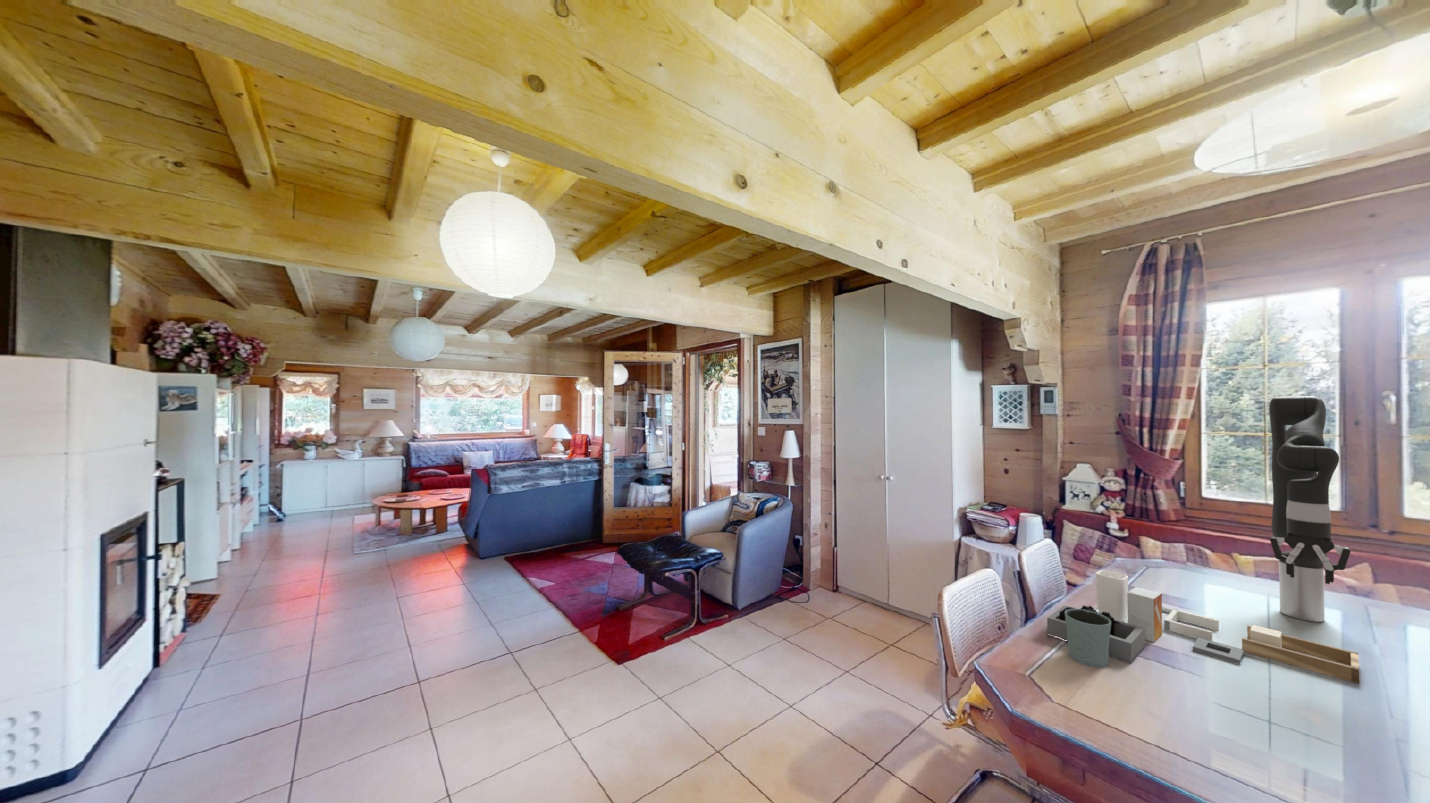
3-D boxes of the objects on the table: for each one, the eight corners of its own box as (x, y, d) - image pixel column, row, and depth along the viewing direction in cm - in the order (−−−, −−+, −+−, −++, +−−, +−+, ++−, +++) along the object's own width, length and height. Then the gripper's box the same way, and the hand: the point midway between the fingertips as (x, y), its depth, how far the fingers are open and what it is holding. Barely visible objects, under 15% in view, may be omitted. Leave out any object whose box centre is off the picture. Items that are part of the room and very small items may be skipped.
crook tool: (1156, 609, 160) (1156, 605, 160) (1212, 621, 150) (1212, 618, 150) (1156, 613, 157) (1156, 609, 157) (1213, 625, 148) (1213, 622, 148)
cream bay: (1173, 617, 153) (1173, 608, 154) (1218, 629, 145) (1218, 619, 145) (1164, 629, 146) (1164, 619, 146) (1211, 642, 137) (1211, 632, 137)
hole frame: (1198, 640, 138) (1198, 636, 138) (1244, 653, 131) (1244, 649, 131) (1192, 650, 133) (1192, 646, 133) (1239, 664, 126) (1239, 660, 126)
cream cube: (1252, 643, 137) (1252, 624, 137) (1282, 650, 133) (1281, 631, 133) (1250, 648, 134) (1250, 629, 134) (1280, 657, 129) (1280, 637, 129)
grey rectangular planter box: (1064, 622, 151) (1064, 605, 151) (1145, 646, 135) (1144, 628, 135) (1047, 635, 142) (1047, 617, 142) (1131, 663, 126) (1131, 643, 126)
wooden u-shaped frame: (1247, 636, 140) (1247, 625, 140) (1358, 665, 125) (1358, 652, 125) (1242, 651, 132) (1242, 638, 133) (1359, 683, 117) (1359, 669, 117)
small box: (1154, 642, 137) (1154, 598, 138) (1127, 634, 143) (1126, 591, 143) (1163, 635, 142) (1162, 592, 142) (1135, 627, 147) (1135, 586, 147)
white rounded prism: (1130, 620, 151) (1129, 575, 152) (1122, 626, 147) (1122, 580, 148) (1102, 612, 158) (1101, 568, 158) (1094, 618, 153) (1093, 573, 154)
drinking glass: (1104, 654, 131) (1104, 612, 131) (1118, 673, 122) (1117, 627, 122) (1061, 646, 135) (1060, 605, 136) (1070, 664, 126) (1070, 620, 126)
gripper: (1352, 521, 124) (1353, 584, 124) (1268, 511, 135) (1270, 569, 135) (1352, 525, 119) (1354, 591, 119) (1266, 515, 131) (1267, 575, 131)
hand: (1309, 579), depth 127 cm, fingers open, 5 cm apart
